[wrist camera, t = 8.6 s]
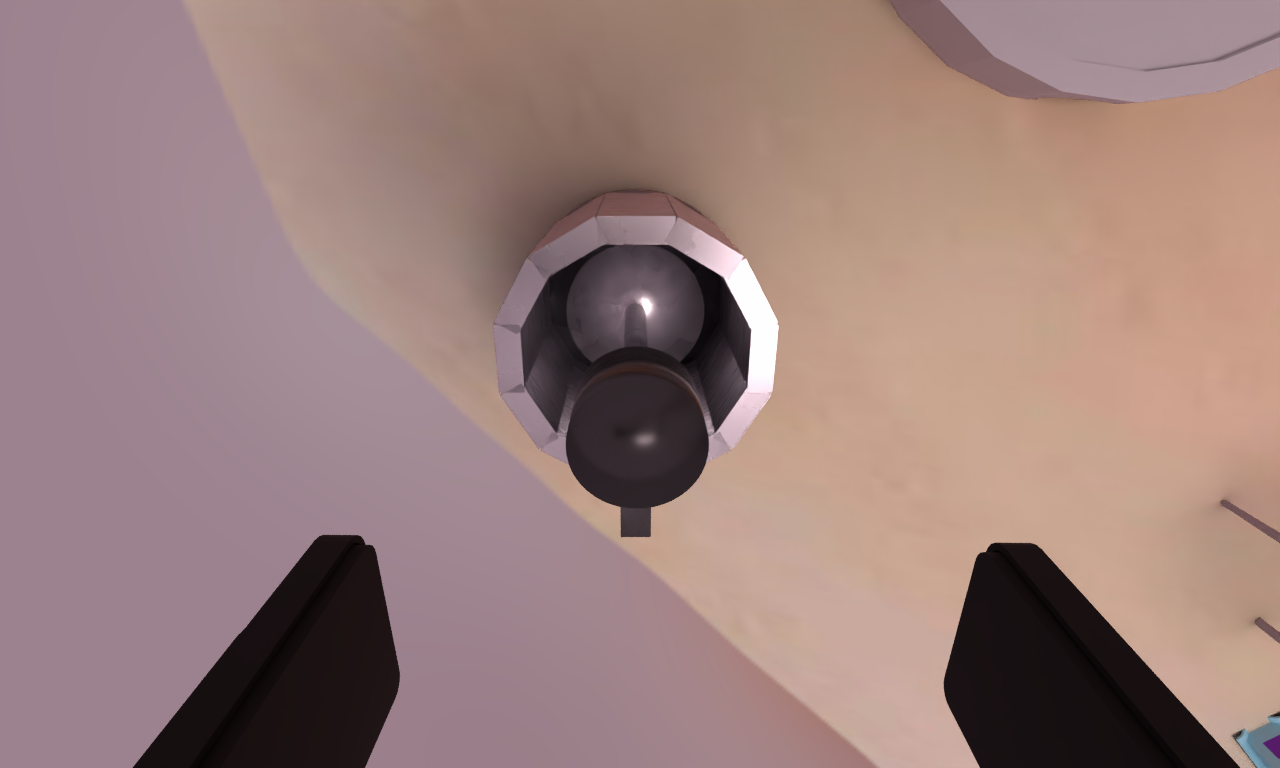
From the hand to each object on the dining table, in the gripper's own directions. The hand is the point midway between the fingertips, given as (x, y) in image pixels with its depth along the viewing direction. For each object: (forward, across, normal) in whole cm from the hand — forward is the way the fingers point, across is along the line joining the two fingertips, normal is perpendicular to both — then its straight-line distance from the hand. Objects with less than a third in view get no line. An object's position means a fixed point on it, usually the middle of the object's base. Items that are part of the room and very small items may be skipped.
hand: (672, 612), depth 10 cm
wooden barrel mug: (+22, +1, +2) cm, 22 cm away
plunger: (+19, +1, +1) cm, 19 cm away
